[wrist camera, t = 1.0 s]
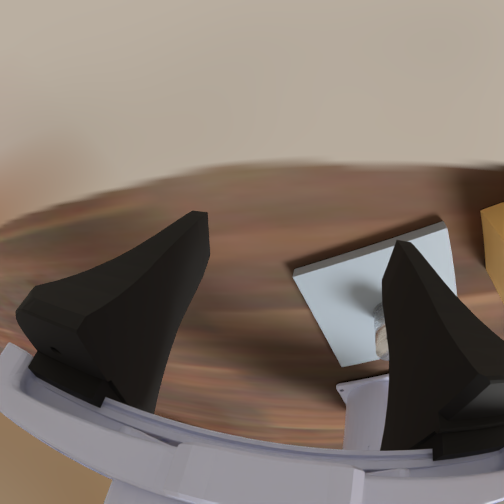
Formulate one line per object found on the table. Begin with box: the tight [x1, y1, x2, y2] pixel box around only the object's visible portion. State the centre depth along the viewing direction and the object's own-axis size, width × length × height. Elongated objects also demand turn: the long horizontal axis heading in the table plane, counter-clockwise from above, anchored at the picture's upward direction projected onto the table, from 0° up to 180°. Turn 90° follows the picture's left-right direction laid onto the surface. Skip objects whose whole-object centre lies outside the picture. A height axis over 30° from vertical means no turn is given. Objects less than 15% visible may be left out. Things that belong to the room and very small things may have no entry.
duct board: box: [293, 221, 457, 367], centre depth 22 cm, size 12×12×5 cm
